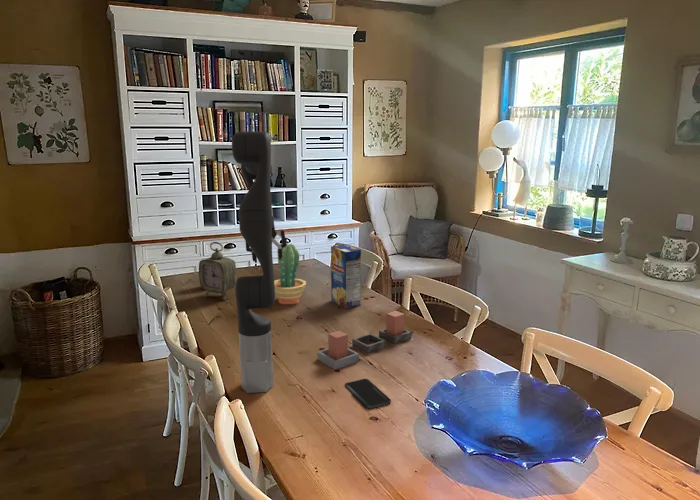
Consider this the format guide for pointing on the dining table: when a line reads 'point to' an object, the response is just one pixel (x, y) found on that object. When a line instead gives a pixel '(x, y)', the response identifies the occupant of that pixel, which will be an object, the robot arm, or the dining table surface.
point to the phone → (367, 393)
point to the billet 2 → (395, 323)
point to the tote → (339, 363)
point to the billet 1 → (338, 345)
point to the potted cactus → (289, 277)
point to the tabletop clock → (217, 273)
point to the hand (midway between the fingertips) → (268, 261)
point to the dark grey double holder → (380, 341)
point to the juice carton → (346, 275)
